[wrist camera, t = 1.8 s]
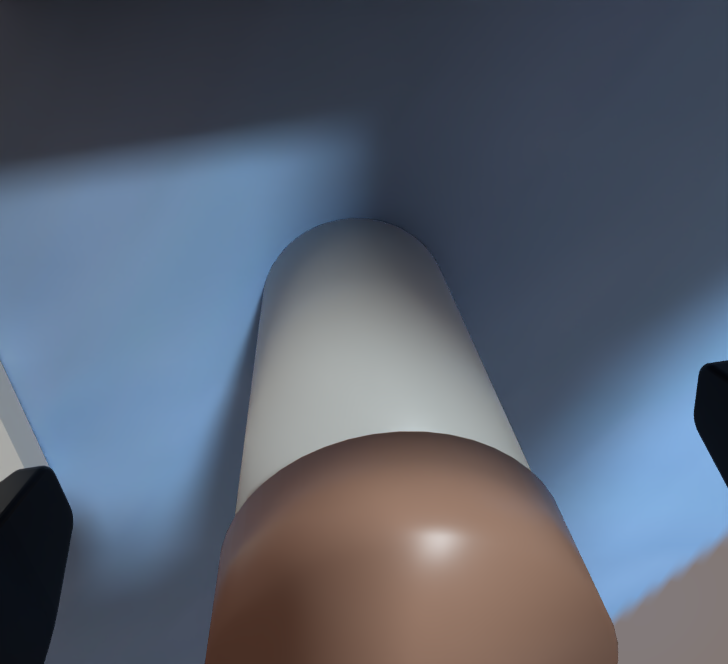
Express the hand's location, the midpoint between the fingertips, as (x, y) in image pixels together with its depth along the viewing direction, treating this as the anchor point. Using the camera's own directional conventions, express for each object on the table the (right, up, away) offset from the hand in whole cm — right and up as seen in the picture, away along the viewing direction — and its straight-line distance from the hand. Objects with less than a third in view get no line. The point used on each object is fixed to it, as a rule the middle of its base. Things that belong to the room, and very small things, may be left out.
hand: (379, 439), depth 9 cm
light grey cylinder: (0, +2, +4) cm, 4 cm away
